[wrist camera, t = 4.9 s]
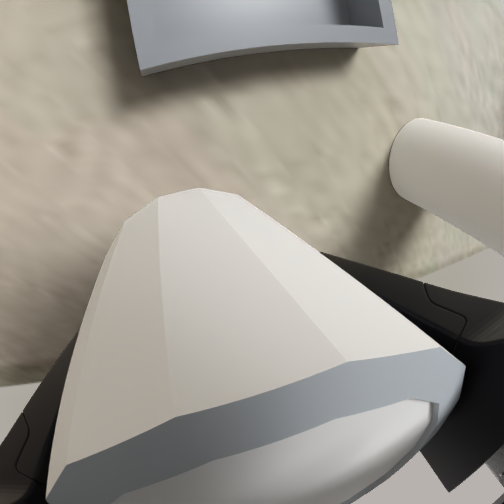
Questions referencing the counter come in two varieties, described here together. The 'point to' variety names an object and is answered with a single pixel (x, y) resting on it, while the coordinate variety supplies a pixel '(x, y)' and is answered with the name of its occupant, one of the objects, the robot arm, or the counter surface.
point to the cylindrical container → (452, 176)
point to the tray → (252, 28)
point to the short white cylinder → (238, 369)
